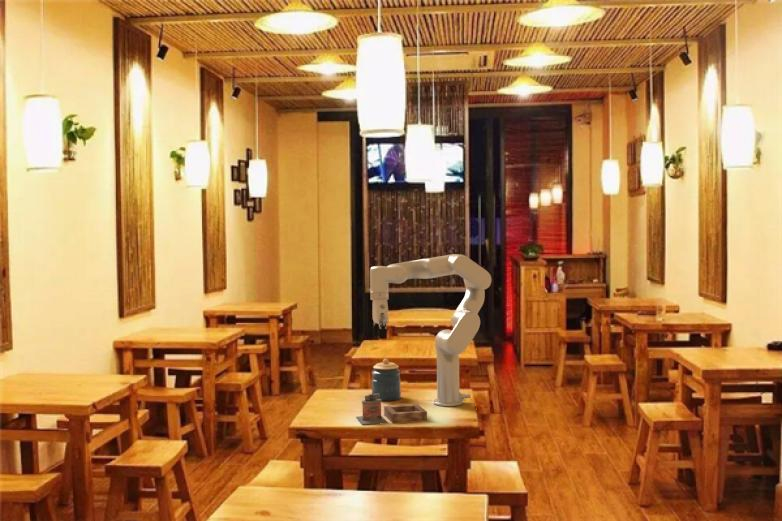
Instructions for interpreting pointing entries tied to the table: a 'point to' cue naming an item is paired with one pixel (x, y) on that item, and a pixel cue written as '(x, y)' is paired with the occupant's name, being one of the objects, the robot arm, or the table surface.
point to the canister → (386, 381)
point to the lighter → (371, 407)
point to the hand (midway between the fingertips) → (380, 337)
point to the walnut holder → (405, 413)
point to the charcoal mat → (371, 421)
